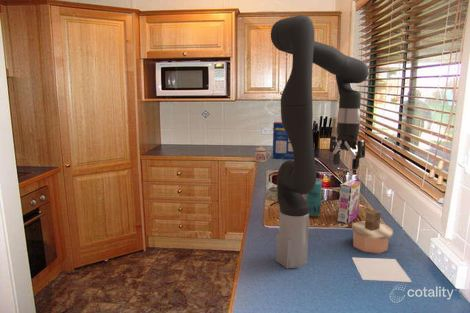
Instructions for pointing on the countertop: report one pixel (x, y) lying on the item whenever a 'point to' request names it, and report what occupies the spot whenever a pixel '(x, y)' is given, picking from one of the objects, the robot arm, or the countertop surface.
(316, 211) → the beverage bottle
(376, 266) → the mat
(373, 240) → the bowl
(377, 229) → the lid
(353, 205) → the candy bar box
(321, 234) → the countertop surface
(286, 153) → the blue flat square box
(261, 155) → the teacup with lid
